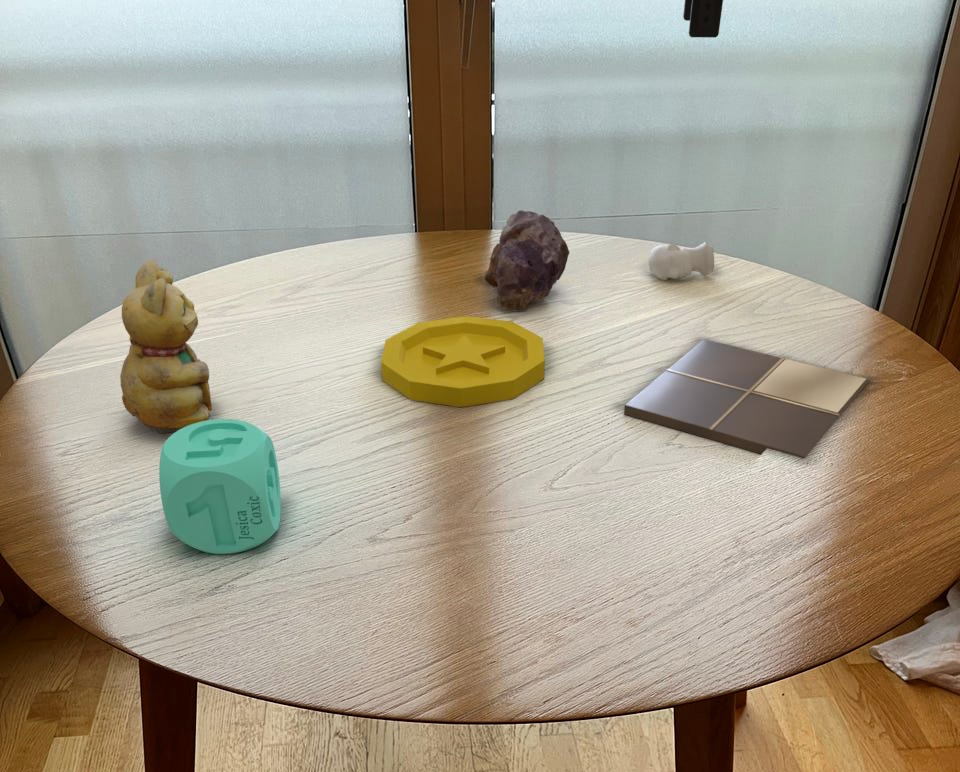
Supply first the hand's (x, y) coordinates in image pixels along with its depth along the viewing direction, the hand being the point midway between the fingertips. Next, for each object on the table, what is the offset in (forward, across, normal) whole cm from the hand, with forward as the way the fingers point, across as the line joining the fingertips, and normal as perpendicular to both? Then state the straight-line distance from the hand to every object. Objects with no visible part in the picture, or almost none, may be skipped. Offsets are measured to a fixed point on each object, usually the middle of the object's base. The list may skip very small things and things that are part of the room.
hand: (699, 28), depth 112 cm
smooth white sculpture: (+26, -8, 0) cm, 27 cm away
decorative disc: (+26, -34, +24) cm, 49 cm away
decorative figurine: (+26, -48, +51) cm, 74 cm away
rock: (+26, -14, +18) cm, 35 cm away
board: (+25, -40, -5) cm, 48 cm away
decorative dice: (+26, -66, +40) cm, 81 cm away
